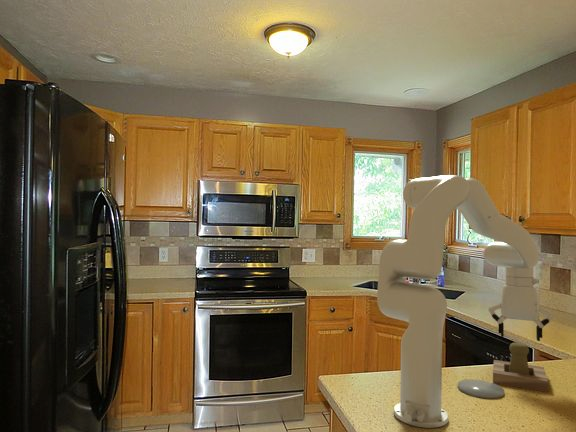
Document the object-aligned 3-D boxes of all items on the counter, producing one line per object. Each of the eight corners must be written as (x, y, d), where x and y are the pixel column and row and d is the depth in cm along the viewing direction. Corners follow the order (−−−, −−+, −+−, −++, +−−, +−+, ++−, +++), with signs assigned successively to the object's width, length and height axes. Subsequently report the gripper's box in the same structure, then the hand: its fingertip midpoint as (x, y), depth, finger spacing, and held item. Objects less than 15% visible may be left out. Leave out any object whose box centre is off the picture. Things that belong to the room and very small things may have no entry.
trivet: (504, 401, 111) (504, 398, 111) (455, 393, 117) (455, 390, 117) (504, 387, 122) (504, 384, 122) (459, 379, 128) (459, 376, 128)
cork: (533, 384, 125) (533, 346, 125) (511, 382, 126) (511, 345, 126) (526, 377, 131) (526, 341, 131) (505, 375, 132) (505, 340, 132)
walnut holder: (547, 392, 119) (547, 381, 119) (492, 382, 125) (492, 372, 125) (543, 376, 131) (543, 367, 131) (493, 369, 138) (493, 359, 138)
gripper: (551, 282, 128) (551, 338, 128) (488, 278, 136) (489, 331, 136) (554, 285, 122) (554, 345, 122) (487, 281, 130) (488, 337, 129)
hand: (519, 338), depth 129 cm, fingers open, 9 cm apart
